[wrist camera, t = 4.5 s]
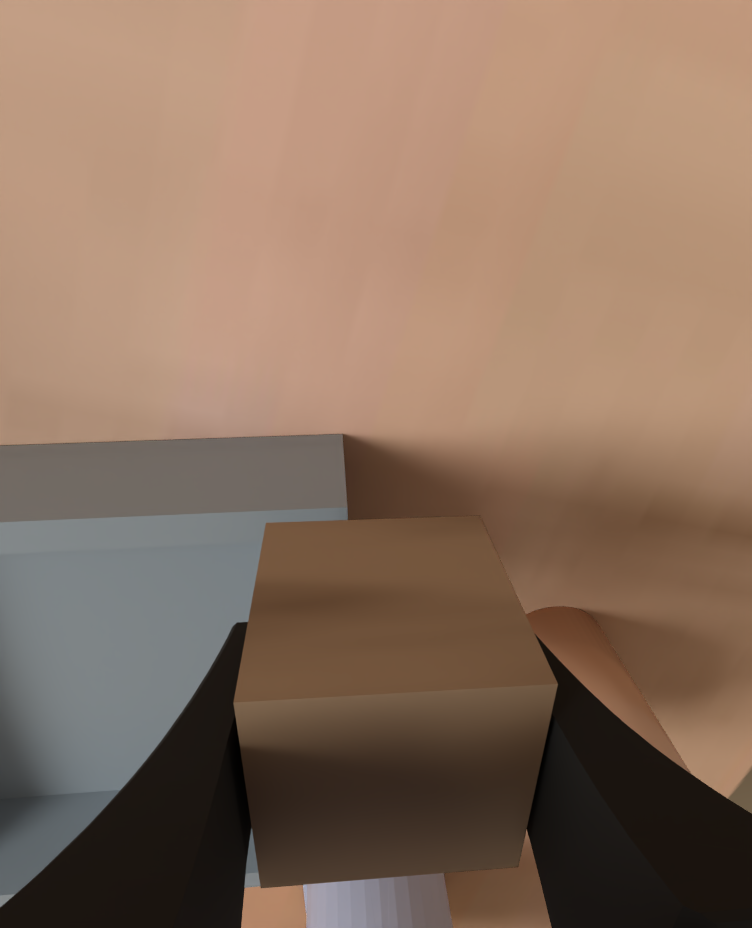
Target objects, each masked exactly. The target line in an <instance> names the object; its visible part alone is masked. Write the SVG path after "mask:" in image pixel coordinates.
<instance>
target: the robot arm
mask: <svg viewBox="0 0 752 928" xmlns="http://www.w3.org/2000/svg"><path fill="white" fill-rule="evenodd" d="M247 625H248V622H237V623H236V624H235V625H234V626H233V627H232V629H231V631H230V633H229V635H228V637H227V639H226V641H225V643H224V644H223V646H222V648H221V650H220V652H219V654H218V655H217V657H216V659H215V661H214V662H213V664H212V666H211V667H210V669H209V671H208V673H207V674H206V676H205V677H204V679H203V680H202V682H201V684H200V685H199V687H198V688H197V690H196V692H195V693H194V695H193V696H192V698H191V699H190V701H189V702H188V704H187V705H186V707H185V708H184V710H183V711H182V712H181V714H180V715H179V717H178V718H177V719H176V721H175V722H174V724H173V725H172V727H171V728H170V729H169V731H168V732H167V734H166V735H165V736H164V738H163V739H162V740H161V742H160V743H159V744H158V745H157V747H156V748H155V749H154V751H153V752H152V753H151V754H150V756H149V757H148V758H147V760H146V761H145V762H144V763H143V764H142V766H141V767H140V768H139V769H138V770H137V772H136V773H135V774H134V775H133V776H132V778H131V779H130V780H129V781H128V782H127V783H126V784H125V786H124V787H123V788H122V789H121V790H120V791H119V792H118V793H117V795H116V796H115V797H114V798H113V799H112V800H111V801H110V802H109V803H108V805H107V806H106V807H105V808H104V809H103V810H102V811H101V812H100V813H99V814H98V815H97V816H96V818H95V819H94V820H93V821H92V822H91V823H90V824H89V825H88V826H87V827H86V828H85V829H84V830H83V831H82V832H81V833H80V834H79V835H78V836H77V837H76V838H75V839H74V840H73V841H72V842H71V843H70V844H69V845H68V846H66V847H65V848H64V849H63V850H62V851H61V852H60V853H59V854H58V855H57V856H56V857H55V858H54V859H53V860H52V861H51V862H50V863H49V864H48V865H47V866H46V867H45V868H44V869H43V870H42V871H41V872H40V873H39V874H37V875H36V876H35V877H34V878H33V879H32V880H31V881H30V882H29V883H28V884H27V885H25V886H24V887H23V888H22V889H21V890H20V891H18V892H17V893H16V894H15V895H14V896H13V897H12V898H10V899H9V900H8V901H7V902H6V903H5V904H3V905H2V906H1V907H0V928H241V921H242V909H243V898H244V886H245V875H246V864H247V856H248V848H249V841H250V835H251V829H252V825H251V819H250V812H249V805H248V798H247V791H246V784H245V778H244V771H243V764H242V757H241V750H240V744H239V737H238V730H237V723H236V716H235V710H234V703H233V702H234V697H235V691H236V686H237V680H238V675H239V669H240V664H241V658H242V653H243V647H244V641H245V636H246V630H247ZM534 634H535V633H534ZM535 636H536V638H537V640H538V642H539V644H540V646H541V649H542V651H543V653H544V655H545V657H546V659H547V662H548V664H549V666H550V668H551V670H552V672H553V674H554V677H555V679H556V681H557V683H558V686H557V691H556V695H555V700H554V704H553V709H552V714H551V718H550V723H549V727H548V732H547V737H546V741H545V746H544V751H543V755H542V760H541V764H540V769H539V774H538V778H537V783H536V787H535V792H534V797H533V801H532V806H531V810H530V815H529V820H528V824H527V832H528V835H529V838H530V842H531V846H532V849H533V853H534V857H535V861H536V865H537V869H538V873H539V877H540V881H541V885H542V889H543V893H544V897H545V901H546V905H547V910H548V914H549V918H550V922H551V926H552V928H752V814H751V813H750V812H748V811H746V810H744V809H743V808H742V807H740V806H738V805H737V804H735V803H733V802H732V801H730V800H729V799H727V798H726V797H724V796H723V795H721V794H720V793H718V792H717V791H715V790H714V789H712V788H710V787H709V786H707V785H706V784H704V783H703V782H702V781H700V780H699V779H697V778H696V777H695V776H693V775H692V774H690V773H689V772H688V771H686V770H685V769H683V768H682V767H681V766H679V765H678V764H676V763H675V762H673V761H672V760H671V759H669V758H668V757H667V756H665V755H664V754H663V753H661V752H660V751H659V750H657V749H656V748H655V747H654V746H652V745H651V744H650V743H649V742H647V741H646V740H645V739H644V738H642V737H641V736H640V735H639V734H638V733H636V732H635V731H634V730H633V729H631V728H630V727H629V726H628V725H626V724H625V723H624V722H623V721H622V720H621V719H620V718H618V717H617V716H616V715H615V714H614V713H613V712H612V711H611V710H609V709H608V708H607V707H606V706H605V705H604V704H603V703H602V702H601V701H600V700H599V699H598V698H597V697H596V696H594V695H593V694H592V693H591V692H590V691H589V690H588V689H587V688H586V687H585V686H584V685H583V684H582V683H581V682H580V681H579V680H578V679H577V678H576V677H575V676H574V675H573V674H572V673H571V672H570V671H569V670H568V669H567V668H566V667H565V666H564V665H563V663H562V662H561V661H560V660H559V659H558V658H557V657H556V656H555V655H554V654H553V653H552V652H551V651H550V650H549V649H548V647H547V646H546V645H545V644H544V643H543V642H542V641H541V640H540V639H539V638H538V636H537V635H536V634H535ZM303 890H304V899H305V908H306V914H307V920H306V928H453V925H452V919H451V913H450V907H449V901H448V895H447V890H446V884H445V878H444V873H439V874H427V875H414V876H402V877H390V878H378V879H366V880H354V881H342V882H330V883H318V884H305V885H303Z"/></svg>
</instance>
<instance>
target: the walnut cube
mask: <svg viewBox="0 0 752 928" xmlns="http://www.w3.org/2000/svg"><path fill="white" fill-rule="evenodd" d="M557 686H558V683H557V681H556V679H555V677H554V674H553V672H552V670H551V668H550V666H549V664H548V662H547V659H546V657H545V655H544V653H543V651H542V649H541V646H540V644H539V642H538V640H537V638H536V636H535V634H534V631H533V629H532V627H531V625H530V623H529V621H528V619H527V616H526V614H525V612H524V610H523V608H522V606H521V603H520V601H519V599H518V597H517V595H516V593H515V591H514V588H513V586H512V584H511V582H510V580H509V578H508V576H507V573H506V571H505V569H504V567H503V565H502V563H501V560H500V558H499V556H498V554H497V552H496V550H495V548H494V545H493V543H492V541H491V539H490V537H489V535H488V533H487V530H486V528H485V526H484V524H483V522H482V520H481V518H480V516H452V517H422V518H392V519H363V520H333V521H303V522H273V523H266V525H265V530H264V536H263V542H262V547H261V553H260V558H259V564H258V569H257V575H256V580H255V586H254V591H253V597H252V603H251V608H250V614H249V619H248V625H247V630H246V636H245V641H244V647H243V653H242V658H241V664H240V669H239V675H238V680H237V686H236V691H235V697H234V702H233V703H234V710H235V716H236V723H237V730H238V737H239V744H240V750H241V757H242V764H243V771H244V778H245V784H246V791H247V798H248V805H249V812H250V819H251V825H252V832H253V839H254V846H255V853H256V859H257V866H258V873H259V880H260V887H261V888H269V887H281V886H293V885H305V884H318V883H330V882H342V881H354V880H366V879H378V878H390V877H402V876H414V875H427V874H439V873H451V872H463V871H475V870H487V869H499V868H511V867H518V866H519V861H520V857H521V852H522V847H523V843H524V838H525V833H526V829H527V824H528V820H529V815H530V810H531V806H532V801H533V797H534V792H535V787H536V783H537V778H538V774H539V769H540V764H541V760H542V755H543V751H544V746H545V741H546V737H547V732H548V727H549V723H550V718H551V714H552V709H553V704H554V700H555V695H556V691H557Z"/></svg>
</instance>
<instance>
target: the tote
mask: <svg viewBox="0 0 752 928" xmlns="http://www.w3.org/2000/svg"><path fill="white" fill-rule="evenodd" d="M333 520H348V509H347V493H346V479H345V464H344V449H343V434H330V435H301V436H272V437H242V438H213V439H183V440H154V441H124V442H95V443H66V444H36V445H7V446H0V907H1V906H2V905H3V904H5V903H6V902H7V901H8V900H9V899H10V898H12V897H13V896H14V895H15V894H16V893H17V892H18V891H20V890H21V889H22V888H23V887H24V886H25V885H27V884H28V883H29V882H30V881H31V880H32V879H33V878H34V877H35V876H36V875H37V874H39V873H40V872H41V871H42V870H43V869H44V868H45V867H46V866H47V865H48V864H49V863H50V862H51V861H52V860H53V859H54V858H55V857H56V856H57V855H58V854H59V853H60V852H61V851H62V850H63V849H64V848H65V847H66V846H68V845H69V844H70V843H71V842H72V841H73V840H74V839H75V838H76V837H77V836H78V835H79V834H80V833H81V832H82V831H83V830H84V829H85V828H86V827H87V826H88V825H89V824H90V823H91V822H92V821H93V820H94V819H95V818H96V816H97V815H98V814H99V813H100V812H101V811H102V810H103V809H104V808H105V807H106V806H107V805H108V803H109V802H110V801H111V800H112V799H113V798H114V797H115V796H116V795H117V793H118V792H119V791H120V790H121V789H122V788H123V787H124V786H125V784H126V783H127V782H128V781H129V780H130V779H131V778H132V776H133V775H134V774H135V773H136V772H137V770H138V769H139V768H140V767H141V766H142V764H143V763H144V762H145V761H146V760H147V758H148V757H149V756H150V754H151V753H152V752H153V751H154V749H155V748H156V747H157V745H158V744H159V743H160V742H161V740H162V739H163V738H164V736H165V735H166V734H167V732H168V731H169V729H170V728H171V727H172V725H173V724H174V722H175V721H176V719H177V718H178V717H179V715H180V714H181V712H182V711H183V710H184V708H185V707H186V705H187V704H188V702H189V701H190V699H191V698H192V696H193V695H194V693H195V692H196V690H197V688H198V687H199V685H200V684H201V682H202V680H203V679H204V677H205V676H206V674H207V673H208V671H209V669H210V667H211V666H212V664H213V662H214V661H215V659H216V657H217V655H218V654H219V652H220V650H221V648H222V646H223V644H224V643H225V641H226V639H227V637H228V635H229V633H230V631H231V629H232V627H233V626H234V625H235V624H236V623H237V622H248V619H249V614H250V608H251V603H252V597H253V591H254V586H255V580H256V575H257V569H258V564H259V558H260V553H261V547H262V542H263V536H264V530H265V525H266V523H273V522H303V521H333ZM257 886H260V880H259V873H258V866H257V859H256V853H255V846H254V839H253V832H252V829H251V835H250V841H249V848H248V856H247V864H246V875H245V886H244V888H246V887H257Z"/></svg>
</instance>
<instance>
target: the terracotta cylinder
mask: <svg viewBox="0 0 752 928" xmlns="http://www.w3.org/2000/svg"><path fill="white" fill-rule="evenodd" d="M526 616H527V619H528V621H529V623H530V625H531V627H532V629H533V631H534V633H535V634H536V635H537V636H538V638H539V639H540V640H541V641H542V642H543V643H544V644H545V645H546V646H547V647H548V649H549V650H550V651H551V652H552V653H553V654H554V655H555V656H556V657H557V658H558V659H559V660H560V661H561V662H562V663H563V665H564V666H565V667H566V668H567V669H568V670H569V671H570V672H571V673H572V674H573V675H574V676H575V677H576V678H577V679H578V680H579V681H580V682H581V683H582V684H583V685H584V686H585V687H586V688H587V689H588V690H589V691H590V692H591V693H592V694H593V695H594V696H596V697H597V698H598V699H599V700H600V701H601V702H602V703H603V704H604V705H605V706H606V707H607V708H608V709H609V710H611V711H612V712H613V713H614V714H615V715H616V716H617V717H618V718H620V719H621V720H622V721H623V722H624V723H625V724H626V725H628V726H629V727H630V728H631V729H633V730H634V731H635V732H636V733H638V734H639V735H640V736H641V737H642V738H644V739H645V740H646V741H647V742H649V743H650V744H651V745H652V746H654V747H655V748H656V749H657V750H659V751H660V752H661V753H663V754H664V755H665V756H667V757H668V758H669V759H671V760H672V761H673V762H675V763H676V764H678V765H679V766H681V767H682V768H683V769H685V770H686V771H688V772H689V773H690V771H689V770H688V768H687V766H686V765H685V763H684V761H683V760H682V758H681V757H680V755H679V753H678V752H677V750H676V749H675V747H674V745H673V744H672V742H671V741H670V739H669V737H668V736H667V734H666V732H665V731H664V729H663V728H662V726H661V724H660V723H659V721H658V720H657V718H656V716H655V715H654V713H653V712H652V710H651V708H650V707H649V705H648V703H647V702H646V700H645V699H644V697H643V695H642V694H641V692H640V691H639V689H638V687H637V686H636V684H635V683H634V681H633V679H632V678H631V676H630V674H629V673H628V671H627V670H626V668H625V666H624V665H623V663H622V662H621V660H620V658H619V657H618V655H617V654H616V652H615V650H614V649H613V647H612V645H611V644H610V642H609V641H608V639H607V637H606V636H605V634H604V633H603V631H602V629H601V628H600V626H599V625H598V623H597V621H596V620H595V619H594V618H593V617H592V616H590V615H589V614H587V613H586V612H584V611H581V610H579V609H576V608H571V607H548V608H543V609H539V610H536V611H533V612H531V613H529V614H526ZM690 774H691V773H690Z"/></svg>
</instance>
